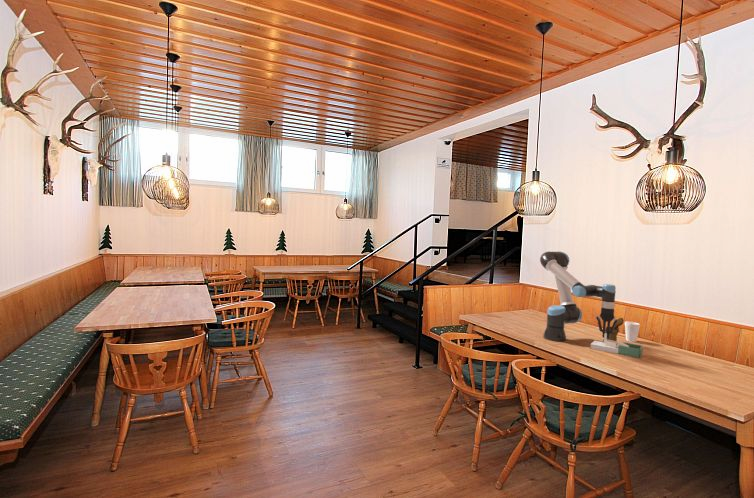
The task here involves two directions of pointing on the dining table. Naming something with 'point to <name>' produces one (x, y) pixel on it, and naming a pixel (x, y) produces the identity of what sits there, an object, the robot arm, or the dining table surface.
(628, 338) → the foam cup
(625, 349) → the box
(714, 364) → the dining table surface
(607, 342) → the tile
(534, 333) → the dining table surface
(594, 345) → the board
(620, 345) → the tile
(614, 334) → the wooden mug
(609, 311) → the robot arm
